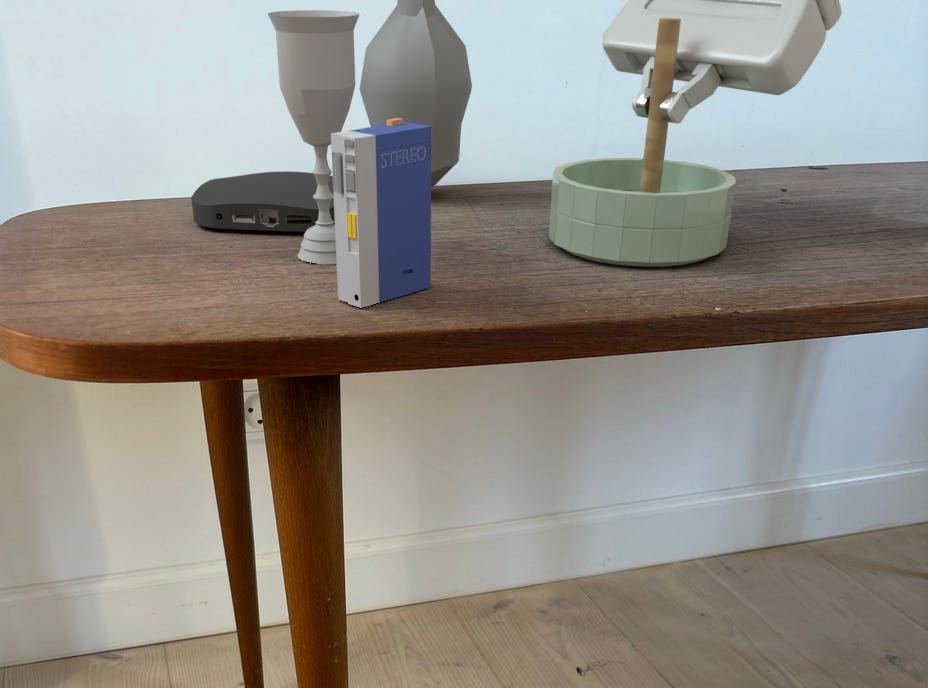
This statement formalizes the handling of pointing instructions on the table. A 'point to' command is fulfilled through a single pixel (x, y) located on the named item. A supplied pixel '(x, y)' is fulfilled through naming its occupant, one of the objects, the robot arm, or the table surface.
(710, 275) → the table surface
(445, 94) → the grey faceted vase
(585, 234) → the bowl
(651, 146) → the stirring stick
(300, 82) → the chalice
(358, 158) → the walkman
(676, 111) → the robot arm
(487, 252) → the table surface
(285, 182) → the media streaming box
